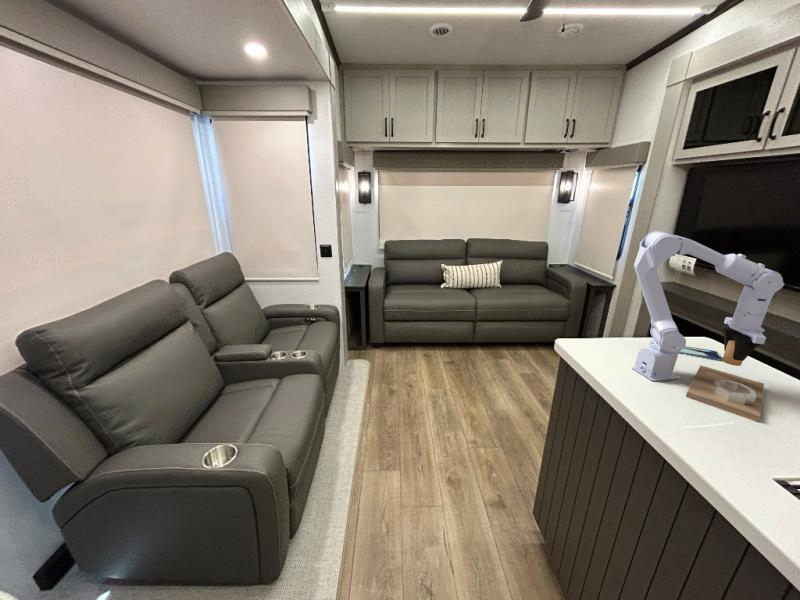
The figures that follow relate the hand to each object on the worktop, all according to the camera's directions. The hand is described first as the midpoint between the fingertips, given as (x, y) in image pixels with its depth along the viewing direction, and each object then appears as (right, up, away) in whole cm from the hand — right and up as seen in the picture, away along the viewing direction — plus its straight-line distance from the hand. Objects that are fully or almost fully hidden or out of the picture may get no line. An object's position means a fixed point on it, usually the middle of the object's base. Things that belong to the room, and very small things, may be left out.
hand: (733, 356), depth 94 cm
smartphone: (+8, -3, +22) cm, 24 cm away
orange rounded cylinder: (0, -2, +1) cm, 2 cm away
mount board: (-3, -10, -1) cm, 11 cm away
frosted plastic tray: (-5, -10, -5) cm, 12 cm away
